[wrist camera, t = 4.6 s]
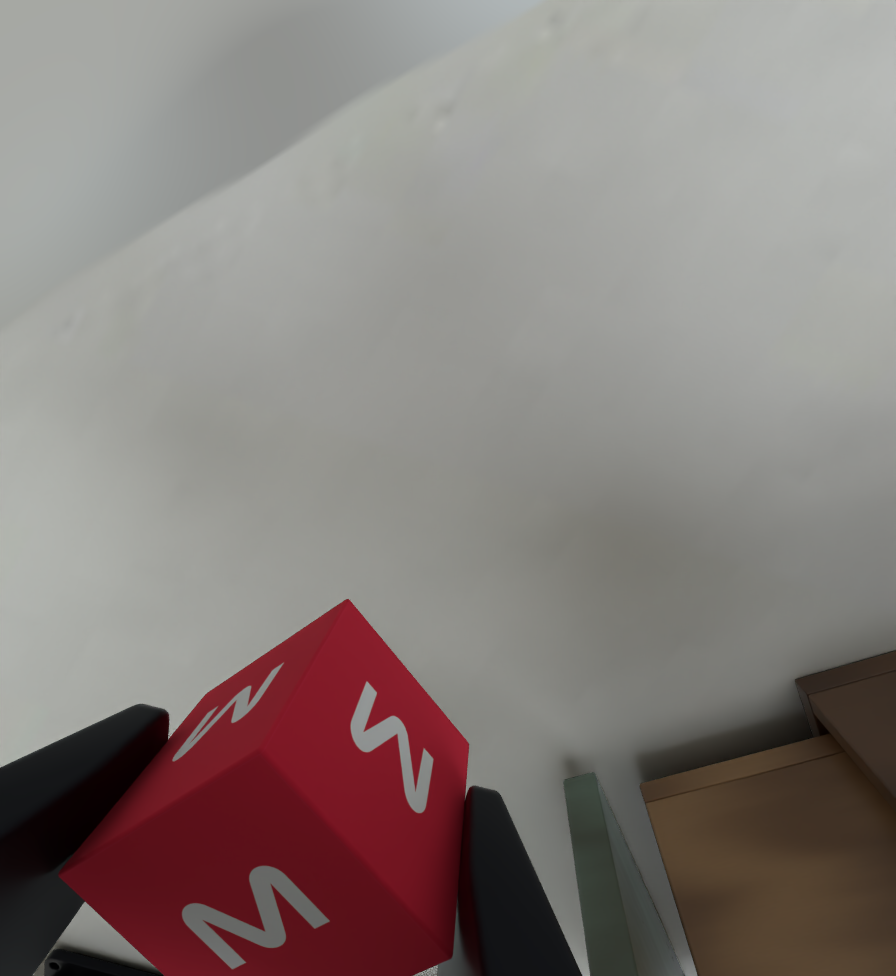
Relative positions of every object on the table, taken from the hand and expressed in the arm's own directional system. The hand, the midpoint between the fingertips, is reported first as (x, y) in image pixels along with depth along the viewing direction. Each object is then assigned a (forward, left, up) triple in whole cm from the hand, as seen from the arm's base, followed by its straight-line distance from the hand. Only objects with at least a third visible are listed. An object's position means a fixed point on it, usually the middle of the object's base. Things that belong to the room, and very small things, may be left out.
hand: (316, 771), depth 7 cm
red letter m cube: (0, 0, -1) cm, 1 cm away
